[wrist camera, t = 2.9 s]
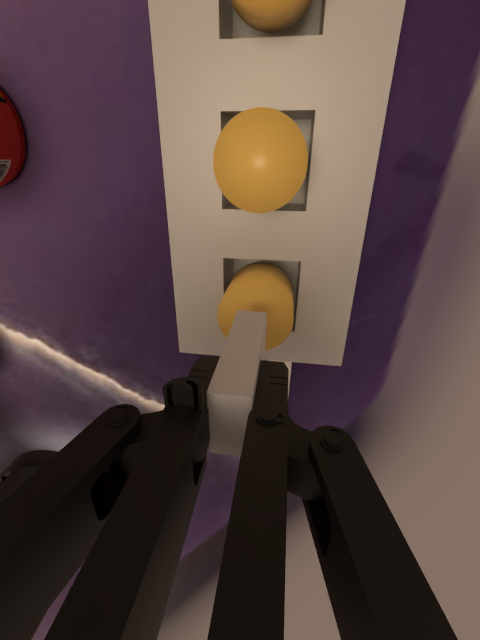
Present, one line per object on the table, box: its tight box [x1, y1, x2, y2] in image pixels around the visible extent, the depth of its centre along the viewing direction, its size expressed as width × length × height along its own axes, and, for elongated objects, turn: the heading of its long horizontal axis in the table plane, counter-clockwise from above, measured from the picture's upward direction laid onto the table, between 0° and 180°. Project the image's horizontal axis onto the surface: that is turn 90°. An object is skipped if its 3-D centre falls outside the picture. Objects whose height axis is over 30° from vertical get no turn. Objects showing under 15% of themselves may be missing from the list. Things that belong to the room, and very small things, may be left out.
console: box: [148, 0, 406, 366], centre depth 20 cm, size 26×12×5 cm, turn 179°
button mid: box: [213, 107, 308, 213], centre depth 17 cm, size 4×4×4 cm
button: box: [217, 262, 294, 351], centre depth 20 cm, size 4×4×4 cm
